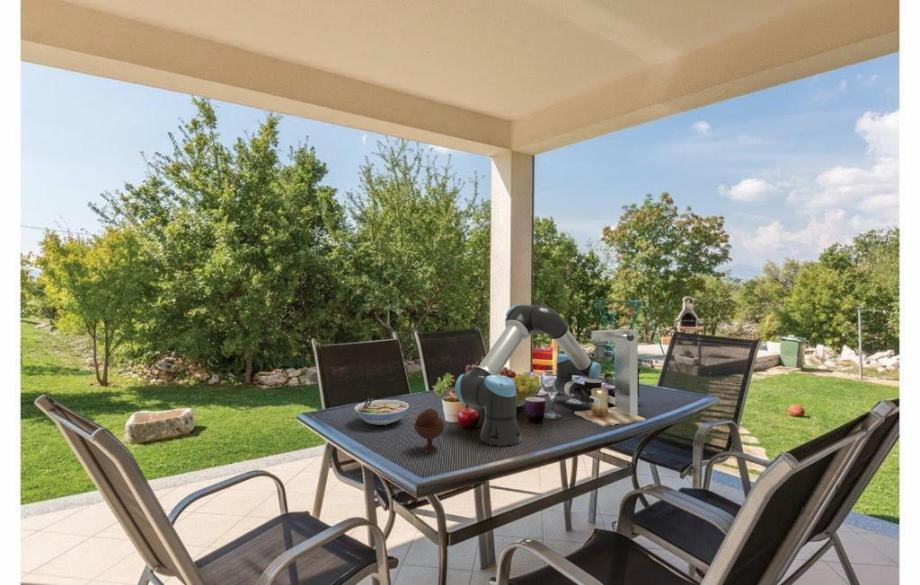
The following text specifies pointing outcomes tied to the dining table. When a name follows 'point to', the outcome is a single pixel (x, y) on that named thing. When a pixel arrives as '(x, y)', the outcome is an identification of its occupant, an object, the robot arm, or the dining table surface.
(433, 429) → the ice cream bowl
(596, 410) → the cream pillar candle
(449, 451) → the dining table surface
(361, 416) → the ramen bowl
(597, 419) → the plate
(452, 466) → the dining table surface
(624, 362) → the press frame
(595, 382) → the coffee mug
